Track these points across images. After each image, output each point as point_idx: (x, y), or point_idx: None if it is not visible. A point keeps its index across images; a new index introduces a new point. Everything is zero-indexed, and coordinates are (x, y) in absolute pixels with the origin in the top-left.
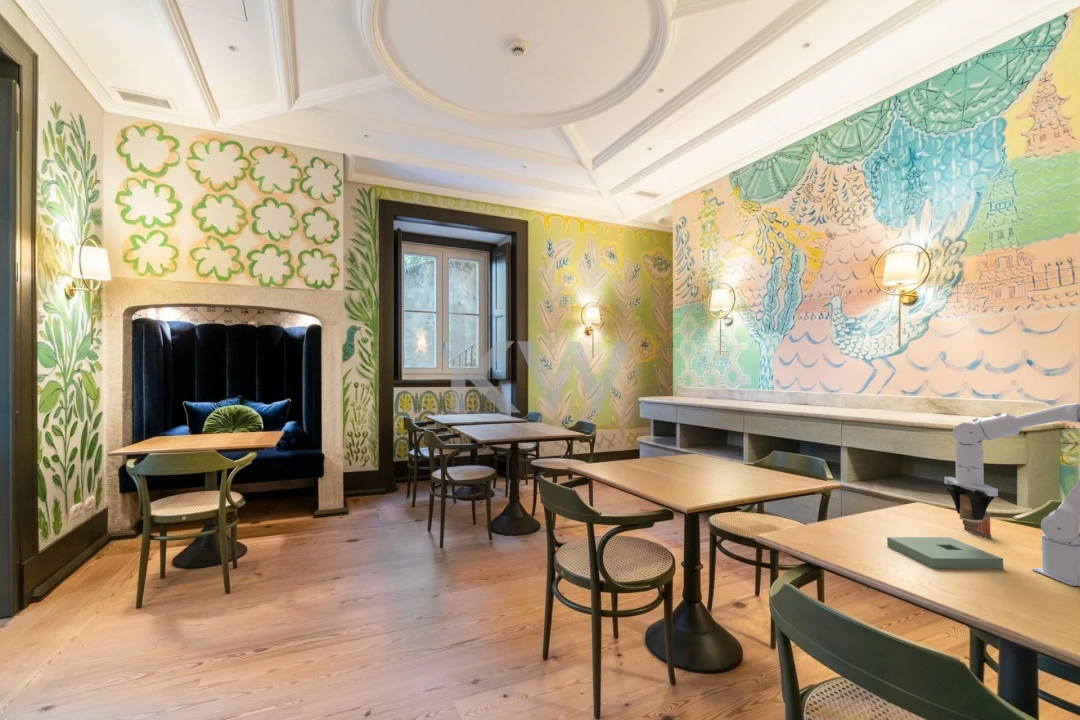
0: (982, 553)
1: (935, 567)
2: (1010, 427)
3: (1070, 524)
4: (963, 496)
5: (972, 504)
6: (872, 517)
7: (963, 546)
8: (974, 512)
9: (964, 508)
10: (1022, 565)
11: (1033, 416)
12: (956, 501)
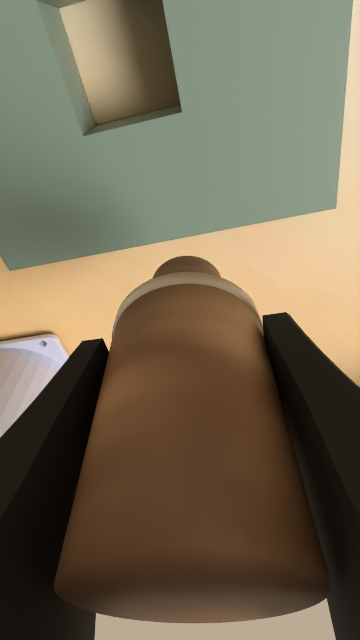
0: (57, 219)
1: None
2: None
3: None
4: (140, 552)
5: (7, 464)
6: None
7: (162, 185)
8: (47, 385)
9: (139, 367)
10: (105, 334)
11: None
12: (309, 407)
